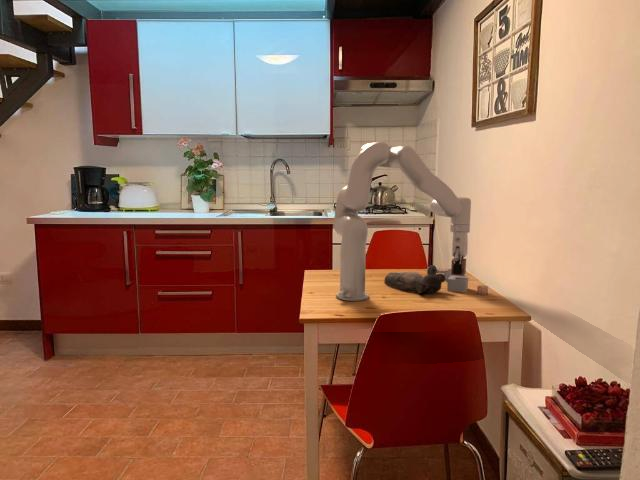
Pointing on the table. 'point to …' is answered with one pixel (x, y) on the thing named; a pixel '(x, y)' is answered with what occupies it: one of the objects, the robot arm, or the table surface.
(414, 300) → the table surface
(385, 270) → the table surface
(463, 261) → the brown metal block
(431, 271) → the headphones
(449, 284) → the grey block
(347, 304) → the table surface
